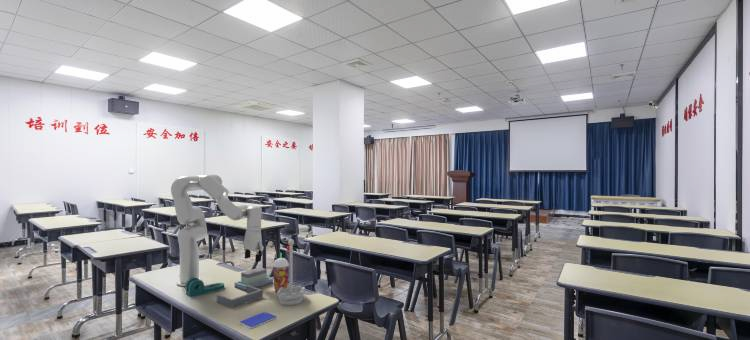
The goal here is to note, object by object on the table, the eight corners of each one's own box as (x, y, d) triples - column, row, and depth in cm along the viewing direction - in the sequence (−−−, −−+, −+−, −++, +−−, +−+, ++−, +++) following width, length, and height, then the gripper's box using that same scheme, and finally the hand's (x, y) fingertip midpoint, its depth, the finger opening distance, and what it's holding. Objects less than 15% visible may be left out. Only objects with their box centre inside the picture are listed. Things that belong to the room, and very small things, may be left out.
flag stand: (310, 300, 171) (310, 239, 171) (286, 308, 162) (286, 243, 162) (295, 293, 181) (295, 235, 180) (272, 300, 172) (272, 239, 171)
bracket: (189, 297, 175) (189, 282, 175) (185, 294, 180) (185, 279, 180) (226, 289, 188) (226, 274, 188) (221, 286, 193) (221, 271, 193)
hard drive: (264, 311, 156) (239, 321, 146) (276, 315, 151) (251, 326, 141) (264, 314, 156) (239, 324, 146) (276, 319, 151) (251, 330, 141)
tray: (234, 287, 190) (234, 282, 190) (261, 279, 204) (261, 274, 204) (246, 291, 184) (246, 286, 184) (273, 282, 197) (273, 278, 197)
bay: (216, 301, 169) (216, 294, 169) (247, 291, 183) (247, 285, 183) (231, 308, 162) (231, 300, 162) (262, 297, 176) (262, 290, 176)
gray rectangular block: (241, 285, 191) (241, 272, 191) (259, 279, 200) (259, 267, 200) (247, 287, 187) (247, 274, 187) (266, 281, 197) (266, 269, 197)
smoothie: (271, 289, 187) (271, 251, 187) (287, 287, 191) (287, 250, 190) (273, 294, 180) (273, 255, 179) (290, 292, 183) (290, 253, 183)
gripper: (238, 227, 196) (237, 258, 196) (257, 231, 185) (256, 264, 186) (250, 226, 202) (249, 255, 202) (269, 230, 192) (268, 261, 192)
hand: (252, 259), depth 194 cm, fingers open, 9 cm apart
